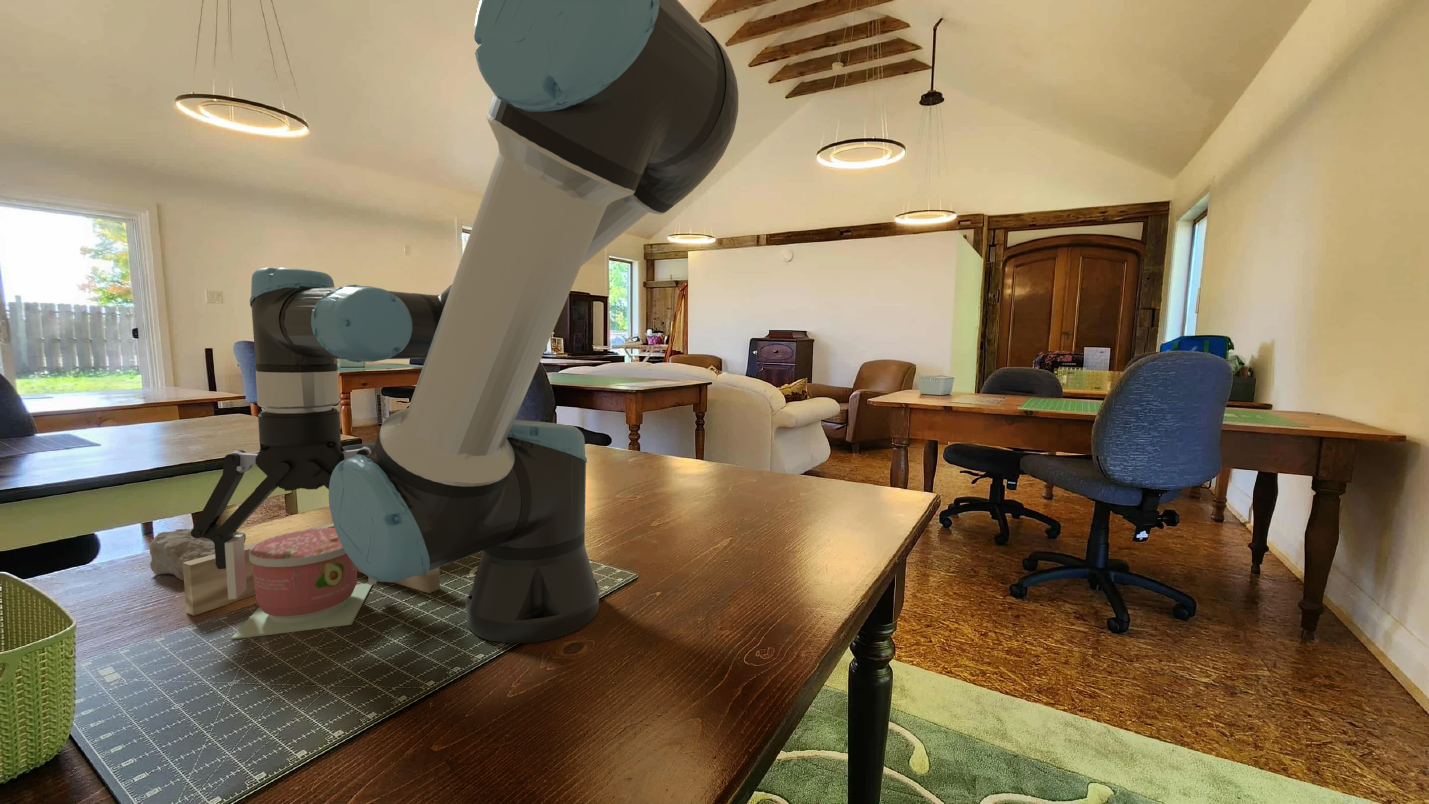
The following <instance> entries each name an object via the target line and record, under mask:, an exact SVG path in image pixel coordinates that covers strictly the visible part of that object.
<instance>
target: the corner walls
mask: <svg viewBox="0 0 1429 804" xmlns="http://www.w3.org/2000/svg"><path fill="white" fill-rule="evenodd" d="M319 528H335V527H334V524H333V521H332V522H328V523H326V524H325V523H324V524H321V525H316V526H314V527H310V528H306V529H305V530H309V529H319ZM262 541H263V540H261V541H258V542H255V543H254V542H253V543H251V544H247V545H244V550H245V567H246V583H247V589H246V590H245V591H244V592H243V593H242V594H241V595H240V596H239V597H238V598H237V599H229V600H228V588H227V572H226V569H218V568H217V566H216V560H215V554H213V555H209V556H205V557H202V558H198V559H194V560H191V561H187V562H183V574H184V580H183V586H184V598H185V599H184V600H185V612H186V614H189V615H191V616H193V617H195V616H197V615H200V614H204V613H206V612H208V611H209V612H210V611H213V610H215V609H217V608H220V607H221V608H222V607H224V606H226V605H231V604H233V603H235V602H239V601H240V600H245V599H246V598H250V597H253V596H256V594H255V586H254V578H253V569H252V568H253V563H252V562H250V561H249V551H250V549H251V548H252V547H253V546H255V545H256V544H258V543H260V542H262ZM440 570H441V569H440V567H439V568H436V569H433V570H431V571H428V573H426V574H424V575H421V576H418V575H416V576H412V577H409V578H406V579H402V580H399V581H396V582H393V583H394V584H397V585H401V586H405V587H407V588H410V589H412V590H413V589H414V590H416V591H417V590H418V591H420V592H424V593H426V594H431V593H433V592H435V591H439V590H440V589H441V581H440V580H441V578H440V577H441V575H440V574H441V573H440ZM357 573H361V574H363V573H362V572H361V571H360V570H359V569H358V568H357Z"/></svg>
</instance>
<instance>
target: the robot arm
mask: <svg viewBox="0 0 1429 804" xmlns="http://www.w3.org/2000/svg"><path fill="white" fill-rule="evenodd" d="M473 38H474V42H475V43H476V44H477V45H478V48H476V50H475V52H474V55H475V59H476V63H477V66H478V70H479V73H480V74H481V76H482V78H483V79H484V82H485V83H486V84H487V86H488V87H489V88H490V90H491V91H492V92H493V96H492V98H491V101H490V104H489V108H488V110H487V113H486V121H487V122H488V124H489V126H490V129H491V132H492V133H493V135H494V137H495V140H496V142H497V147H498V153H497V156H496V160H495V162H494V165H493V167H492V170H491V173H490V176H489V179H488V182H487V185H486V188H485V191H484V194H483V195H482V199H481V202H480V205H479V208H478V210H477V212H476V213H477V214H476V216H475V219H474V222H473V224H472V227H471V230H470V232H469V236H468V239H467V241H466V243H465V248H464V249H463V252H462V256H461V259H460V261H459V264H458V267H457V270H456V272H455V276H454V279H453V281H452V284H451V285H449V286H448V287H447V288H446V289H445V290H444V291H443V292H442V293H440V294H427V293H417V292H415V293H412V292H402V291H393V290H386V289H383V288H381V287H375V286H370V285H366V286H365V285H357V284H346V285H343V286H336V287H335V283H334V280H333V278H332V276H331V275H330V274H328V273H326V272H322V271H318V270H309V269H301V268H287V267H274V268H273V267H262V268H261V267H260V268H259V269H256V270H255V271H254V272H253V273H252V275H251V287H250V289H251V293H250V295H251V296H250V299H249V306H250V308H251V318H252V319H251V320H252V332H253V344H254V347H253V348H254V349H253V350H254V360H255V361H254V362H255V381H256V383H255V384H256V404H257V406H259V407H261V408H263V409H264V410H262V411H260V413H258V415H257V418H258V437H259V438H258V439H259V451H258V453H256V452H255V453H252V452H251V453H250V452H246V450H243V449H237V450H235V451H233V452H230V453H229V454H226V455H225V456H224V458H223V465H222V475H221V477H220V478H219V480H218V482H217V484H216V486H215V488H214V489H213V491H212V493H211V495H210V496H209V498H208V500H207V502H206V504H205V506H204V508H203V509H202V511H201V513H200V515H199V517H198V518H197V520H196V522H195V523H194V525H193V527H192V528H191V529H192V531H191V536H192V537H194V538H201V537H202V538H207V539H210V540H212V541H213V542H214V545H215V560H216V566H217V568H218V569H226V572H227V588H228V600H229V599H237V598H238V597H239V596H240V595H241V594H242V593H243V592H244V591H245V590H246V589H247V583H246V567H245V550H244V546H245V543H244V535H235V536H234V537H233V533H235V532H236V531H238V530H239V528H240V527H241V526H242V525H243V524H244V523H245V522H246V520H248V518H249V517H251V516H252V514H253V513H255V512H256V510H257V509H258V508H259V507H260V506H261V505H262V504H263V503H264V502H265V500H266V499H268V497H269V496H270V495H271V494H272V493H273V492H274V491H275V490H276V489H278V488H279V489H282V490H284V491H285V492H286V491H287V492H288V491H291V492H292V491H296V490H299V489H302V490H303V489H304V490H308V491H309V490H310V491H311V490H318V489H319V488H322V487H323V486H324V487H325V488H326V489H327V490H328V504H329V511H330V512H329V513H330V516H331V520H332V522H333V524H334V527H335V530H336V533H337V536H338V538H339V540H340V543H341V545H342V546H343V548H344V550H345V552H346V554H347V555H348V557H349V558H350V560H351V561H352V562H353V563H354V565H355V566H356V567H357V568H358V569H359V570H360V571H361V572H362V573H361V572H360V573H361V574H364V575H365V576H366V577H368V578H367V579H368V583H369V585H372V584H373V585H376V584H377V583H378V582H379V583H380V582H381V583H394V582H396V581H399V580H402V579H406V578H409V577H412V576H416V575H418V576H421V575H424V574H426V573H428V571H431V570H433V569H436V568H439V569H440V568H441V567H444V566H447V565H449V564H452V563H453V562H456V561H459V560H462V559H465V558H467V557H469V556H472V555H475V554H477V553H480V552H481V556H480V560H479V563H478V565H477V570H476V573H475V576H474V580H473V585H472V589H471V590H470V592H469V593H468V596H467V600H466V604H465V605H466V607H465V609H466V613H465V614H466V625H467V627H468V629H469V630H470V631H471V632H472V633H474V635H477V636H478V637H480V638H483V639H485V640H489V641H492V642H497V643H504V644H505V643H506V644H529V643H536V642H537V643H539V642H544V641H549V640H553V639H556V638H559V637H563V636H566V635H569V634H571V633H574V632H576V631H577V630H579V629H581V628H583V627H584V626H586V625H588V624H589V623H590V622H591V621H593V619H594V618H595V617H596V615H597V614H598V613H599V610H600V609H599V608H600V590H599V585H598V582H597V580H596V578H595V577H594V573H593V569H592V566H591V565H592V564H591V563H590V559H589V556H588V552H587V549H586V542H585V540H586V539H585V535H586V532H585V531H586V481H587V480H586V479H587V478H586V477H587V476H586V473H587V463H588V458H587V457H586V444H585V443H586V441H585V436H584V434H583V432H582V431H581V430H580V429H579V428H578V427H576V426H573V425H569V424H563V423H555V422H545V421H536V420H535V421H534V420H521V419H519V420H518V419H516V418H517V415H518V413H519V411H520V408H521V406H522V404H523V401H524V399H525V397H526V395H527V393H528V390H529V388H530V385H531V383H532V381H533V378H534V376H535V373H536V371H537V369H538V367H539V365H540V362H541V360H542V358H543V355H544V352H545V351H546V348H547V345H548V343H549V341H550V338H551V337H552V334H553V332H554V330H555V327H556V325H557V323H558V320H559V318H560V316H561V313H562V312H563V311H562V310H563V309H564V307H565V304H566V302H567V299H568V297H569V294H570V293H571V290H572V288H573V285H574V284H575V281H576V279H577V277H578V273H579V271H580V270H581V267H582V266H584V265H585V264H586V263H587V262H589V261H590V260H591V259H592V258H594V257H595V256H596V255H598V254H599V253H600V252H602V251H603V249H604V248H606V247H607V246H608V245H610V244H611V243H613V242H614V241H615V240H616V239H617V238H618V237H620V236H621V235H623V233H625V232H626V231H627V230H629V229H630V228H632V226H634V225H635V224H636V223H637V222H639V221H640V220H641V219H642V218H644V216H645V217H646V215H648V213H651V214H655V215H663V214H666V213H667V212H669V210H671V209H672V208H673V207H675V206H676V205H677V204H679V203H680V202H681V201H682V200H683V199H685V198H686V197H687V196H688V195H689V194H690V193H692V192H693V191H694V190H695V189H696V188H697V187H698V186H699V185H700V184H701V183H702V182H703V181H704V180H705V179H706V178H707V177H708V176H709V174H710V173H711V172H712V171H713V170H714V169H715V167H716V166H717V165H718V163H719V162H720V160H721V159H722V157H723V156H724V154H725V152H726V150H727V148H728V146H729V143H730V141H731V140H732V138H733V135H734V132H735V129H736V125H737V119H738V115H739V88H738V81H737V77H736V73H735V71H734V67H733V64H732V61H731V59H730V57H729V56H728V53H727V51H726V50H725V49H724V47H723V45H721V43H720V42H719V40H718V39H717V38H716V37H715V36H714V35H713V34H712V33H711V32H710V31H709V30H707V28H706V27H704V26H702V25H701V24H700V23H699V22H698V21H697V19H696V18H695V17H694V16H693V15H692V14H691V13H690V12H689V11H688V10H687V8H685V7H684V6H683V4H682V3H681V2H680V1H679V0H479V4H478V7H477V12H476V15H475V20H474V29H473ZM413 359H414V360H415V359H416V360H419V359H425V361H424V363H423V366H422V369H421V372H420V373H419V378H418V381H417V383H416V385H415V389H414V392H413V394H412V397H411V400H410V402H409V406H408V407H407V408H404V409H400V410H398V411H395V412H393V413H392V414H390V415H389V416H388V417H387V418H386V419H384V421H383V422H382V424H381V428H380V429H379V433H378V436H377V439H376V441H375V443H374V444H375V446H374V449H373V450H372V448H371V447H369V446H364V447H363V448H361V449H356V450H348V451H345V450H344V449H343V448H342V447H343V446H342V440H341V439H342V437H341V436H342V435H341V412H340V411H339V410H338V408H335V407H334V406H336V405H337V404H339V402H340V392H339V391H340V390H339V389H340V388H339V370H338V369H339V367H338V360H346V361H349V362H352V363H361V362H368V363H369V362H371V363H375V362H379V361H385V360H413ZM253 465H256V466H257V467H258V468H259V469H260V470H261V472H263V474H264V475H265V476H266V477H265V478H264V479H263V480H262V481H261V482H260V483H259V484H258V486H257V487H255V488H254V490H253V491H252V492H251V493H250V495H248V497H247V498H246V499H245V500H244V501H243V502H242V503H241V504H240V505H239V507H237V509H236V510H234V512H233V513H232V514H231V515H230V516H229V517H227V519H226V520H224V522H223V523H222V524H218V523H219V521H220V519H221V517H222V515H223V513H224V512H225V510H226V508H227V507H228V504H229V502H230V501H231V499H232V497H233V496H234V493H235V491H236V490H237V488H238V486H239V484H240V482H241V481H242V479H243V477H244V475H245V473H246V472H248V471H250V470H251V469H252V467H253ZM373 585H372V586H373Z"/></svg>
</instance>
